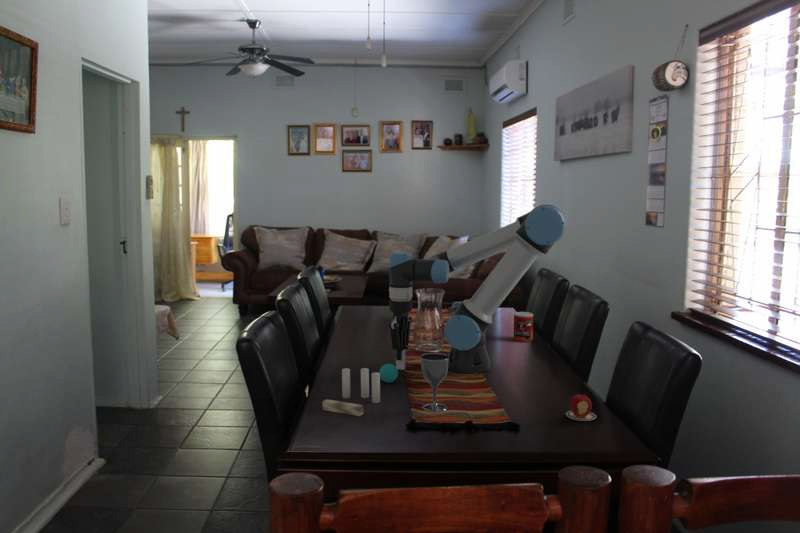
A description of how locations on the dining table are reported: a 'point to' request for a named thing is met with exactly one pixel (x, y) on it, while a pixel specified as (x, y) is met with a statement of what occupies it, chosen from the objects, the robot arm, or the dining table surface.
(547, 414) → the dining table surface
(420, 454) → the dining table surface
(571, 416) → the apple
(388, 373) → the ball
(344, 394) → the far back pin
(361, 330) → the dining table surface
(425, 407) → the wine glass
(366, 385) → the front pin
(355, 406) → the backstop
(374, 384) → the near back pin
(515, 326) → the canned food
